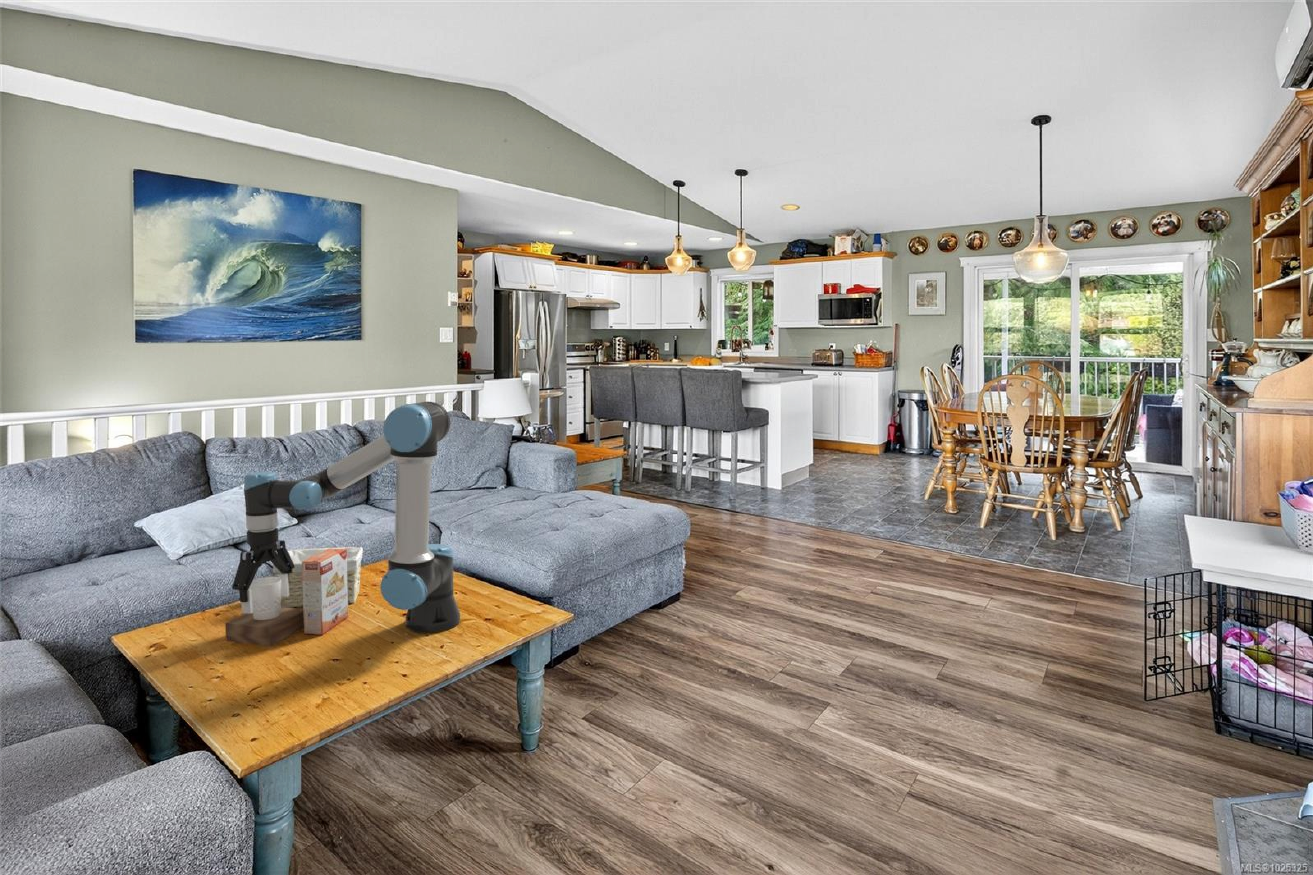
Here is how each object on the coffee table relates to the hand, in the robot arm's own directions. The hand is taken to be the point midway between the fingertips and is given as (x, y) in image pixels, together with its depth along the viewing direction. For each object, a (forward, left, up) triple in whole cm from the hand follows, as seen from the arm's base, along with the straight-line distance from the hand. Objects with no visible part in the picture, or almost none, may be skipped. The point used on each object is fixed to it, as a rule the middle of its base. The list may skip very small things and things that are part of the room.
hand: (266, 604), depth 196 cm
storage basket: (+4, -28, -9) cm, 29 cm away
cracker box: (-12, -9, -9) cm, 17 cm away
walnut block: (0, 0, -8) cm, 8 cm away
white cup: (0, 0, -4) cm, 4 cm away
